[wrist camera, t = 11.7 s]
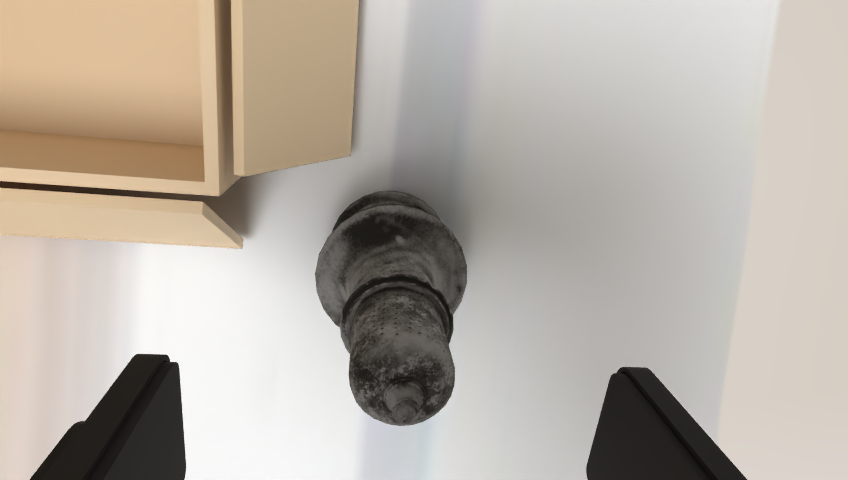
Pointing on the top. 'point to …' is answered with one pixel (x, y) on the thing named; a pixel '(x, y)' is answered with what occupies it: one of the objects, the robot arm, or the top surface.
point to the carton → (164, 108)
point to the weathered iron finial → (394, 303)
